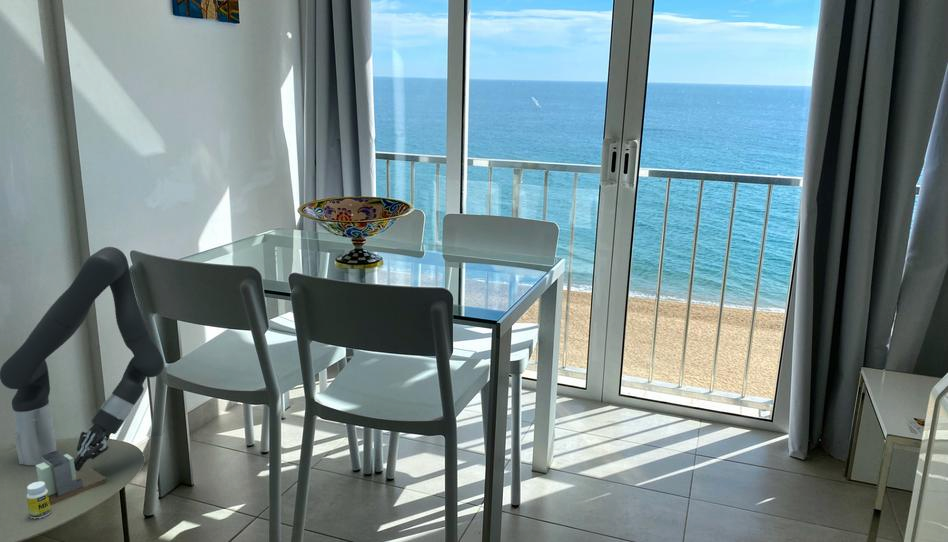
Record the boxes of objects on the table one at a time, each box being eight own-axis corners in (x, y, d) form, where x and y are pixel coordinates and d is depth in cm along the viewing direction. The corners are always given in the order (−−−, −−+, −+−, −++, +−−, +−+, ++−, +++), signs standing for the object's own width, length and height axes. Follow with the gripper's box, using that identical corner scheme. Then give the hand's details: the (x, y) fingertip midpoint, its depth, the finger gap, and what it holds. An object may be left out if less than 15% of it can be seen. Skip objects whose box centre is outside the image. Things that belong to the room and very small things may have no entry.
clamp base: (92, 472, 204) (87, 439, 202) (106, 482, 199) (101, 448, 196) (35, 494, 193) (29, 459, 190) (48, 505, 187) (42, 469, 185)
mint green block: (71, 479, 197) (67, 453, 196) (77, 484, 195) (73, 458, 193) (40, 492, 191) (35, 465, 189) (46, 496, 189) (41, 469, 187)
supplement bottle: (41, 520, 181) (36, 491, 179) (25, 518, 182) (20, 489, 180) (55, 510, 185) (50, 481, 183) (40, 508, 186) (35, 479, 184)
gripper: (92, 402, 204) (52, 457, 197) (113, 414, 196) (73, 472, 189) (113, 412, 209) (75, 466, 203) (134, 425, 201) (96, 481, 194)
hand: (74, 469), depth 196 cm, fingers closed
